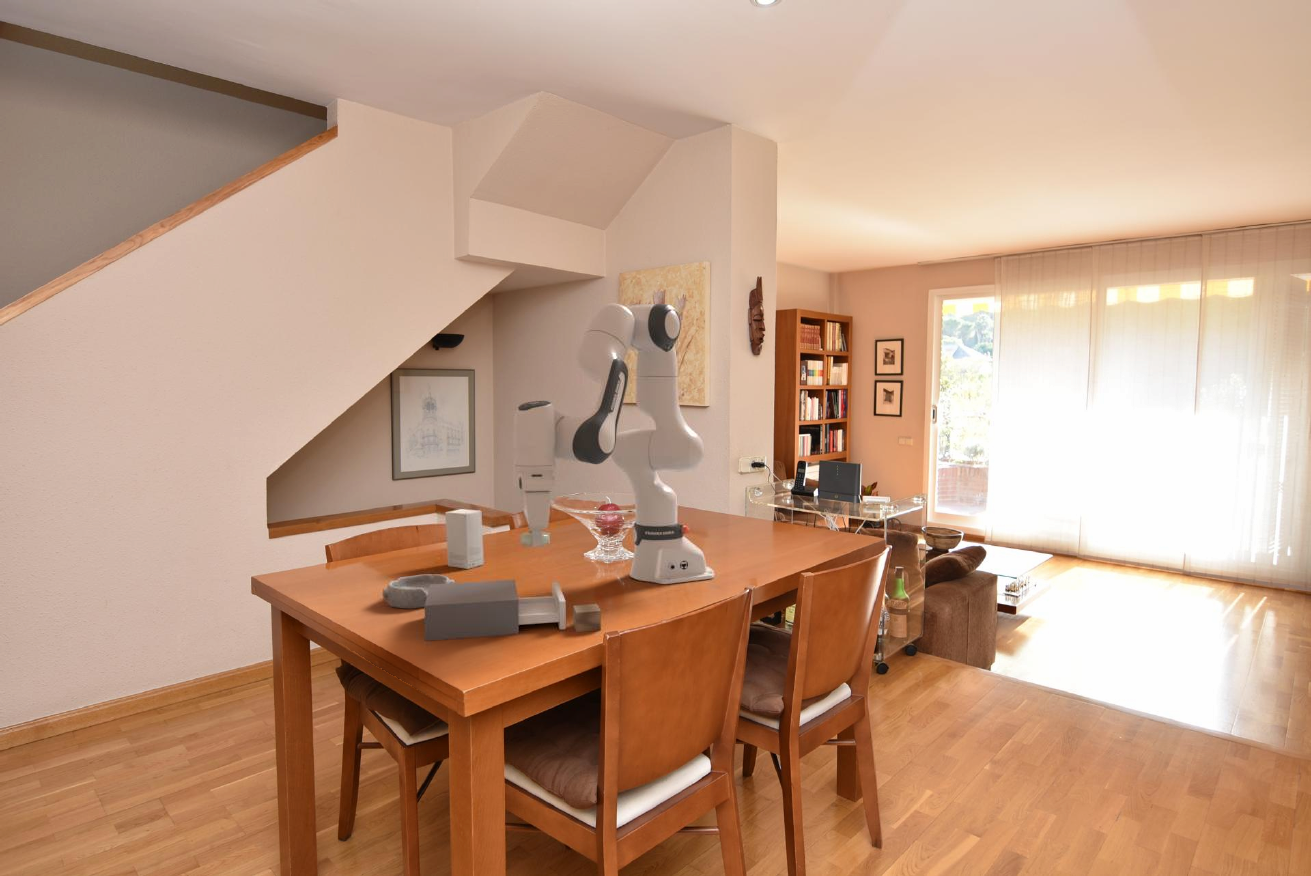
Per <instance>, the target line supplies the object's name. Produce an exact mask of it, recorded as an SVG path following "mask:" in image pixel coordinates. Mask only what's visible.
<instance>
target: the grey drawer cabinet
mask: <svg viewBox="0 0 1311 876" xmlns="http://www.w3.org/2000/svg"><path fill="white" fill-rule="evenodd" d="M518 598H519V596H518V589H517V584H516V580H515V579H506V580H505V579H504V580H502V579H501V580H485V581H469V582H467V581H466V582H454V583H448V584H430V588H429V592H428V595H427V599H426V602H425V607H424V639H425V640H424V641H425V642H426V641H427V642H428V641H441V640H451V639H452V640H453V639H467V638H470V639H471V638H481V637H483V638H484V637H495V636H507V635H519V633H520V631H519V626H520V625H519V616H518Z"/></svg>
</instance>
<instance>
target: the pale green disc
mask: <svg viewBox="0 0 1311 876" xmlns="http://www.w3.org/2000/svg"><path fill="white" fill-rule="evenodd" d="M550 538H551V537H550V532H547V531H542V537H541V546H540V547H543V546H547V545H550ZM520 545H521V546H525V547H533V545H532V532H530V531H525V532H523V533H520Z"/></svg>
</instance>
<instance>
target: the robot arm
mask: <svg viewBox="0 0 1311 876" xmlns="http://www.w3.org/2000/svg"><path fill="white" fill-rule="evenodd" d="M594 315H595V316H593V318H592V319H591V322H590V323H589V324H588V326H587V328H586V330H585V332H584V334H583V336H582V338H581V340H580V342H579V344H578V347H577V350H576V360H577V363H578V366H579V368H580V369H581V371H582V372H583V373H584V375H586V376H587V377H588V378H590V379H591V380H592V381H594V382H597V383H599V384H600V386H601V387H600V390H599V393H598V397H597V400H596V404H595V407H594V410H593V411H592V412H591V413H590V414H588V415H586V416H569V415H568V416H567V415H565V414H563V413H562V412H559V411H558V410H556V409H555V407H554V406H553V403H552V402H550V401H548V400H535V401H528V402H524V403H522V404H520V405H519V406H517V408H516V411H515V415H514V419H513V420H514V422H513V431H512V433H513V446H514V451H515V456H514V460H513V486H514V487H515V488H518V489H519V494H520V495H521V496H523V513H524V516H525V519H526V521H527V524H528V527H529V528H528V529H529V532H532V545H533V546H532V547H533V548H540V547H542V546H541V537H542V532H543V530H544V529H545V530H546V529H547V528H548V526H549V519H550V510H551V498H552V492H554V490H555V487H556V486H557V461H556V460H564V461H570V462H571V461H572V462H581V463H587V464H592V465H600V464H602V463H604V462H605V461H606V460H608V458H609V457H611V459H612V462H613V464H615V465H616V466H617V467H618V468H619V469H620V470H622V471H621V472H623V473H624V474H625V476H626V477H627V479H628V480H629V482H630V485H631V487H632V489H633V495H634V502H635V503H634V505H635V522H634V523H633V543H634V550H633V551H634V553H633V559H632V564H631V568H630V571H629V577H630V578H633V579H635V580H638V581H643V582H651V583H656V584H660V585H669V584H677V583H686V582H693V581H702V580H712V579H714V578H715V571H714V570H713V569H712V568H711V567H709V566H708V565H707V564H706V563H707V562H706V558H705V555H704V552H703V551H702V550H701V549H700V548H699V547H698V546H697V545H695V544H694V543H693V542H692V541H691V540H689V539H688V538H686V536H685V535H688V534H689V533H690V531H691V530H690V527H689V526H687V525H684V524H681V523H679V522H678V496H677V494H676V491H674V490H673V489H672V487H670V486H669V485H667V484H665V483H664V482H663V481H662V480H661V478H660V477H659V474H658V472H668V473H669V472H671V473H672V472H674V473H682V472H689V471H694V470H697V468H699V467H700V465H701V464H702V463H703V461H704V458H705V445H704V442H703V440H702V438H701V437H700V435H698V434H697V433H696V432H695V431H694V430H693V429H692V428H691V427H690V426H689V425H688V424H687V422H686V420H685V419H684V417H683V414H682V412H681V407H680V401H679V400H680V399H679V369H678V357H677V351H676V345H675V344H676V343H677V341H678V338H679V336H680V334H681V328H682V327H681V325H682V324H681V323H682V322H681V318H680V315H679V314H678V311H677V310H676V309H675V307H673V306H672V305H669V304H664V303H657V304H653V303H652V304H649V303H648V304H644V303H643V304H635V305H629V306H624V305H622V304H619V303H614V302H613V303H607V304H605V305H604V306H602V307H600V309H599V310H598V311H597V312H596V314H594ZM629 350H631V351H632V350H636V352H637V356H636V357H637V358H636V367H635V368H636V369H635V403H636V406H637V408H638V410H639V411H641V412H642V413H643V414H645V415H646V416H648V417H650V418H651V419H652V421H653V422H654V425H655V429H645V428H644V429H641V428H638V429H637V428H634V429H629V430H628V429H627V430H624V431H620V432H619V431H618V425H619V419H620V415H621V411H622V408H623V404H624V400H625V396H626V392H627V387H628V381H629V370H628V369H629V368H628V366H627V364H626V363H625V359H626V356H627V353H628V352H629ZM617 431H618V432H617Z"/></svg>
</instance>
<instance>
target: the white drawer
mask: <svg viewBox="0 0 1311 876" xmlns="http://www.w3.org/2000/svg"><path fill="white" fill-rule="evenodd" d="M566 602H567V601H566V599H565V596H564V594H563V591H562V589H561V586H560V584H559V582H558V581H553V582H552V595H549V596H548V595H547V596H534V597H533V596H532V597H518V616H519V626H520V625H535V624H546V623H547V624H548V623H557V625H558V629H559V630H566V629H567V628H566V623H567V622H566V621H567V620H566V616H567V615H566V614H567V610H566V609H567V607H566Z"/></svg>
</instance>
